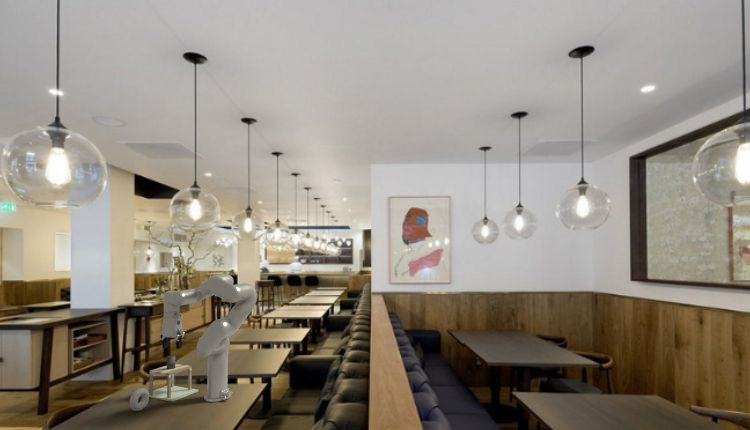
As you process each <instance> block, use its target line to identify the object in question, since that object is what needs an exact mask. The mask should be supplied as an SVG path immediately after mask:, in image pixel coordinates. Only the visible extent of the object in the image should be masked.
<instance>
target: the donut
mask: <svg viewBox="0 0 750 430" xmlns="http://www.w3.org/2000/svg"><path fill="white" fill-rule="evenodd" d="M140 397H141V399H140V401H139V398H140ZM149 397H150V395H149V390H148V389H147V388H146V387H145V388H144V387H140V388H138V389H136V390H134V392H132V394H131V396H130V398H129V407H130V409H131V410H132V411H134V412H140V411H142V410H143V409H145V408H146V407H147V405H148V404H149V400H150V398H149Z"/></svg>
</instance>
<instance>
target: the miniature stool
mask: <svg viewBox="0 0 750 430" xmlns="http://www.w3.org/2000/svg"><path fill="white" fill-rule="evenodd" d="M192 367H193V366H192V365H185V364H180V363H179V364H177V363H176V355H167V356H166V365H164V366H161V367H158V368H154V369H151V370H149V380H148V381H149V382H148V383H149V384H148V386H149V387H148V388H149V390H148V392H149V395H153V390H154V374H157V375H162V376H167V377H166V378H167V379H166V384H167V385H166V386H167V398H171V387H174V386H175V374H177V373H180V372H184V371H186V370H188V371H187V388H188V390H191V389H193V388H192V387H193V386H192V384H193V383H192V382H193V380H192V377H193V375H192V373H193V372H192V371H193V370H192Z"/></svg>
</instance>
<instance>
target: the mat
mask: <svg viewBox="0 0 750 430" xmlns="http://www.w3.org/2000/svg"><path fill="white" fill-rule="evenodd" d="M198 392H199V389H196V388H192V389H191V390H188V387H183V386H177V385H174V387H171V398H167V385H165V386H163V387H159V388H157V389H153V395H150V397H151V399H154V400H162V401H168V402H172V403H173V402H176V401H177V400H180V399H182V398H185V397H188V396H190V395H192V394H193V395H194V394H195V393H198Z"/></svg>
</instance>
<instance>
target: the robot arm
mask: <svg viewBox="0 0 750 430" xmlns="http://www.w3.org/2000/svg"><path fill="white" fill-rule="evenodd" d="M234 283H235V281H234V278H233V277H232V275H231V274H229V273H220V274H214V275H211V276H209V277H208V278H207V279H206V280H204V281H202V282H201V283H200V284H199V286H196V287H193V288H191V289H182V290H169V291H168V290H167V291H165V292H163V319H162V320H163V321H162V325H161V326H162V329H161V330H159V331H158V332H159V333H158V334H159V335H160V336H159V337H160V338H161V341H162V347H161V348H162V349H167V348H169V338H175V340H176V341H175V349H176V350H179V349H182V348H183V342H182V341H183V340H184V337H185V334H186V332H185V331H184V330H183V322H182V318H181V317H182V316H180V315H181V314H180V313H181V311H180V310H181V309H180V307H181V306H186V305H190V304H194V303H197V302H200V301H203V300H205V299H209V298H210V297H213V296H216V297H219V298H220V299H222V300H223V301H225V302H228V303H236V304H235V305H234V306H233V307H232V308H231V309H230V311H229V312H228V314H227V315H225V316H224V317H222V318H218V319H216V320H214V321H213V322H211V323H210V324H209V326H207V327H206V329H205V331H204V332H203V334H202V335H201V337H200V338H199V339H198V341H197V343H196V352H197V354H198V355H199V356H200V357H204V358H206V357H208V358H207V367H206V368H207V373H206V374H207V375H206V377H207V382H206V383H207V384H206V386H207V387H206V388H207V389H206V392H207V393H206V394H205V395H204V396H203V400H204V401H205V402H209V403H210V402H211V403H212V402H213V403H215V402H221V401H226V400H228V399H229V398H231V396H232V395H233V394H234V393H233V391H232V390H230V387H228V382H229V381H228V377H229V376H228V372H229V371H228V370H229V369H228V367H229V366H228V365H229V364H228V363H229V359H228V358H229V350H230V344H231V341H230V338H229V337H232V336H233V335H235V334H236V333H237V332H238V331H239V329H240V327H241V326H242V325H243V323H244V322H245V320H246V319H247V317H248V316H249V315H250V313H252V311H253V309H254V308H255V306H256V303H257V300H258V293H257V290H256V288H255V287H254V286H253V285H252V284H251V283H245V282H244V283H238V284H237V283H236V284H234Z"/></svg>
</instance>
